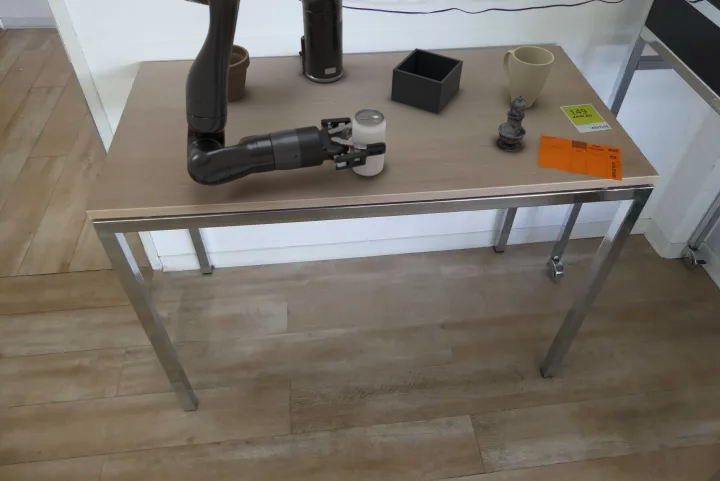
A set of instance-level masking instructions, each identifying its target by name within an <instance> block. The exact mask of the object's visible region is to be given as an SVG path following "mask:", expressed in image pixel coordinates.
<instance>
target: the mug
mask: <svg viewBox="0 0 720 481" xmlns="http://www.w3.org/2000/svg"><path fill="white" fill-rule="evenodd" d="M510 55H511V63H510V67H509V58H510ZM554 61H555V55H554V54H553V53H552V52H551V51H549V50H547V49H545V48H543V47H540V46H534V45H524V46H518V47H517V48H515V49H509V50H507V51H505V53H504V56H503V60H502V63H503V65H502V66H503V70H504V73H505V76H506V78H507V80H508V84H509V94H510V102H511V103H512V100H513V99H514V98H517V97H519V95H522V97H521V98H523V99H525V101H526V106H525V109H528V108H531V107H532V106H533V104H534V103H535V101H536V100H537V98H538V97H539V95H540V94H541V92H542V91H543V89H544V87H545V85H546V83H547V81H548V78H549V75H550V72H551V69H552V66H553V63H554Z"/></svg>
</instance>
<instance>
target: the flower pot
mask: <svg viewBox="0 0 720 481" xmlns="http://www.w3.org/2000/svg"><path fill="white" fill-rule="evenodd" d="M250 64H251V60H250V53H249V51H248V50H247V48H245V47H243V46H241V45H239V44H234V43H233V48H232V53H231V59H230V66H229V75H228V102H231V101H236V100H239V99H241V98H242V97H243V96H244V94H245V91H246V90H245V88H246V83H247V82H246V81H247V72H248V68H249V67H250Z"/></svg>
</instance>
